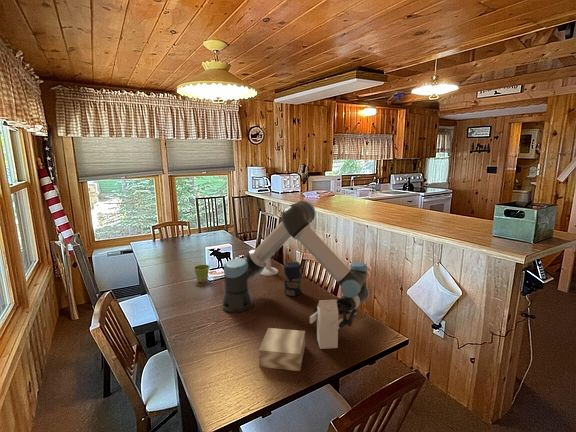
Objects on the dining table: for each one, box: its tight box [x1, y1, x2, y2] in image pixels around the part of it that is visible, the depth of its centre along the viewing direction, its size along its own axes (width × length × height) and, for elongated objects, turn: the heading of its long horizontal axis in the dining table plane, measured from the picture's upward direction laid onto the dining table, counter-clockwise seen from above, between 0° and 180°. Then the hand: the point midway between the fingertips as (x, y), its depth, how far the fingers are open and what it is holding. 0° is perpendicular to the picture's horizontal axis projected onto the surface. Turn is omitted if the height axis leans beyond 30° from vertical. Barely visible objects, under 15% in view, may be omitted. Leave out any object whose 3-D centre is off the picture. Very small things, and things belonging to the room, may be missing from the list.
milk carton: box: [316, 299, 339, 350], centre depth 127 cm, size 7×7×19 cm
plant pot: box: [193, 264, 211, 283], centre depth 193 cm, size 9×9×9 cm
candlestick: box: [259, 227, 279, 277], centre depth 205 cm, size 13×13×30 cm
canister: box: [283, 261, 303, 297], centre depth 174 cm, size 10×10×18 cm
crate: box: [258, 327, 306, 372], centre depth 121 cm, size 15×15×7 cm
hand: (321, 324), depth 124 cm, fingers closed on milk carton, 10 cm apart
